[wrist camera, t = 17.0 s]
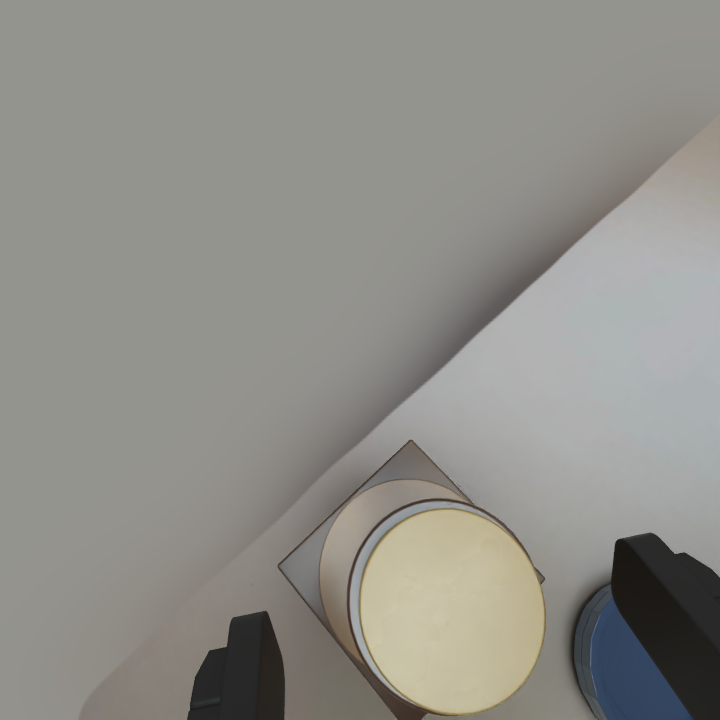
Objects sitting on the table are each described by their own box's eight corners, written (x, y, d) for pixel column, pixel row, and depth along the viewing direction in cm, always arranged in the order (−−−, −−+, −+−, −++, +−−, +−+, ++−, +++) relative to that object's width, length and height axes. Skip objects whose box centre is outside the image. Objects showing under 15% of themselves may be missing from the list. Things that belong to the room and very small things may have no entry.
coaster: (365, 715, 19) (365, 719, 18) (292, 525, 21) (290, 524, 21) (536, 623, 20) (540, 625, 19) (447, 451, 22) (449, 449, 22)
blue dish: (629, 787, 33) (657, 813, 30) (540, 617, 37) (557, 625, 33) (762, 706, 35) (803, 723, 31) (664, 551, 38) (692, 552, 35)
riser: (389, 640, 36) (409, 734, 19) (318, 554, 38) (276, 566, 21) (463, 561, 38) (546, 578, 20) (392, 483, 40) (411, 438, 22)
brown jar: (385, 660, 19) (403, 780, 9) (337, 545, 20) (311, 548, 11) (489, 605, 20) (604, 667, 10) (435, 497, 21) (491, 460, 12)
